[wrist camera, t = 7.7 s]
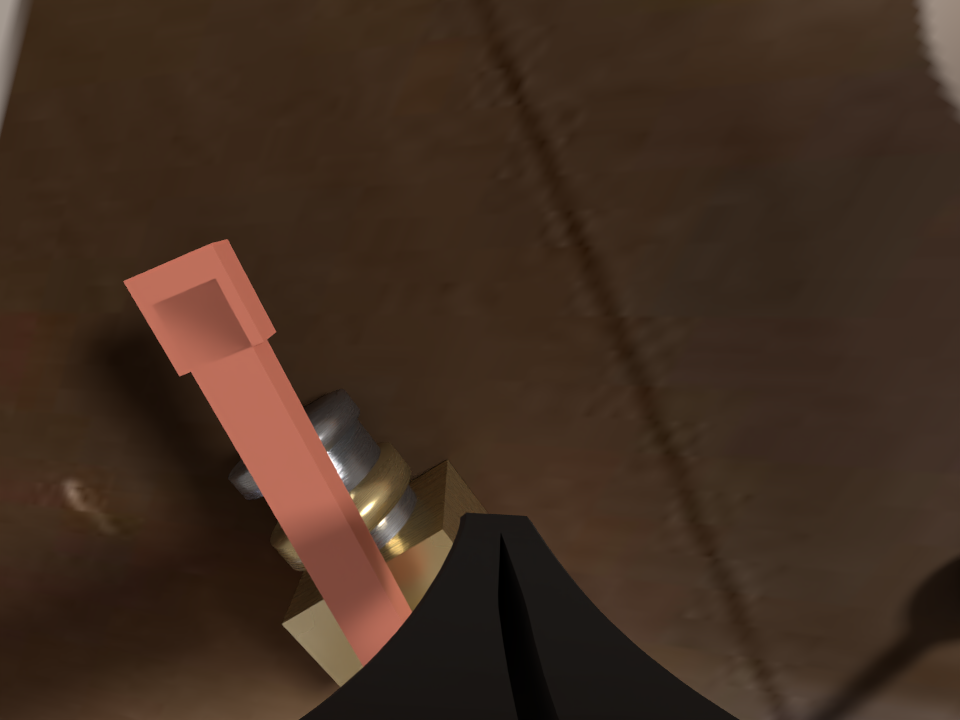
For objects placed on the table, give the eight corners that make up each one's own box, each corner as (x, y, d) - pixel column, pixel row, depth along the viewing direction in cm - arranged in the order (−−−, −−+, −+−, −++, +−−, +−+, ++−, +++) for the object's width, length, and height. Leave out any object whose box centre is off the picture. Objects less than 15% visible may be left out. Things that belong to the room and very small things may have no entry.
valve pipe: (590, 651, 24) (619, 761, 20) (469, 715, 25) (469, 834, 21) (374, 361, 20) (347, 415, 16) (240, 449, 21) (178, 523, 17)
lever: (475, 672, 18) (476, 723, 17) (393, 700, 19) (386, 753, 17) (249, 231, 14) (219, 238, 13) (148, 275, 15) (105, 288, 13)
